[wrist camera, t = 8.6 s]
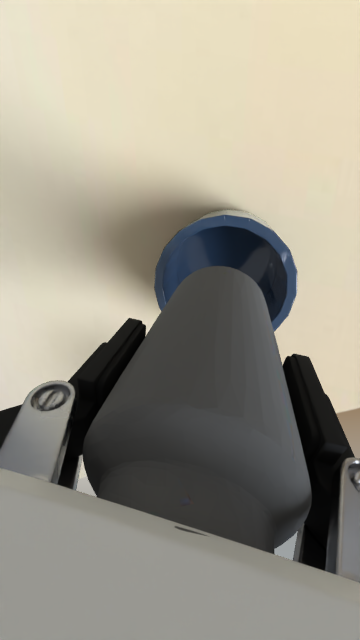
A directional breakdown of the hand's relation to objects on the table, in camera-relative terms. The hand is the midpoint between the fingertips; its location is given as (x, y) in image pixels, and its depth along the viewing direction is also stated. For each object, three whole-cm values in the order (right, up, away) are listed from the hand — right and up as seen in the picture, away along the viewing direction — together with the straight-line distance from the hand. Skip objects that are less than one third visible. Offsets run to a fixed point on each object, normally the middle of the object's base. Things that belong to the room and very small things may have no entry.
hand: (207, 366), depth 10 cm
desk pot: (+3, +7, +13) cm, 15 cm away
